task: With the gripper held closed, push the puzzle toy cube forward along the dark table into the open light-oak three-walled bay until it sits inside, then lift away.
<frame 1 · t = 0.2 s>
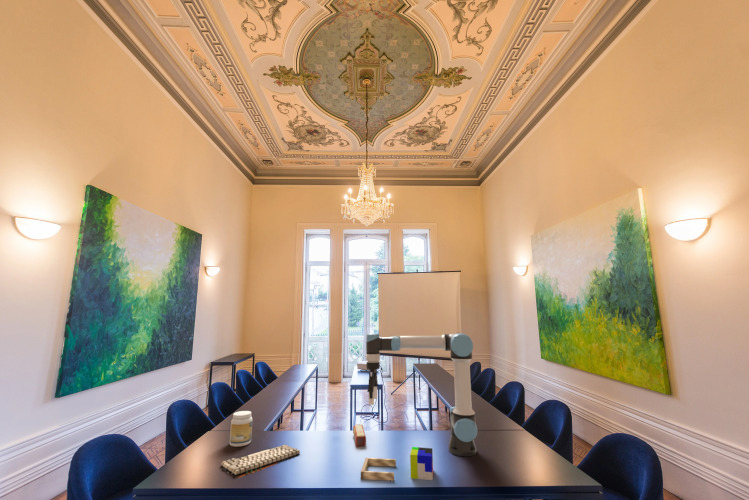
hand: (373, 401, 185), 28 cm above the table, fingers open, 13 cm apart
mechanical keyboard: (262, 462, 174), on the table
supplement tub: (240, 443, 199), on the table
oak bay: (380, 472, 161), on the table
puzzle toy: (422, 474, 159), on the table
snack package: (359, 441, 203), on the table
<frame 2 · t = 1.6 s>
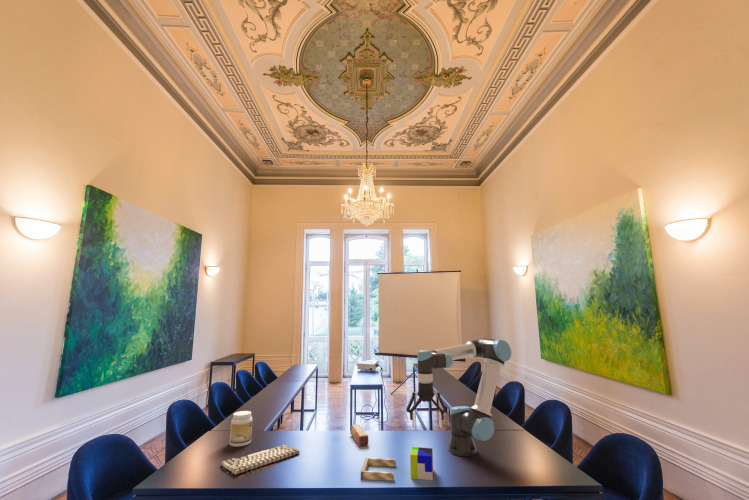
hand: (427, 427, 166), 20 cm above the table, fingers open, 13 cm apart
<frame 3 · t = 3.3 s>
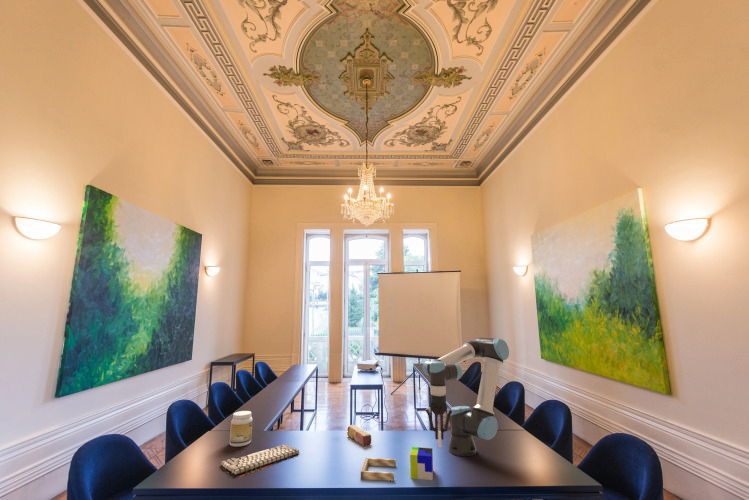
hand: (439, 446, 160), 12 cm above the table, fingers closed
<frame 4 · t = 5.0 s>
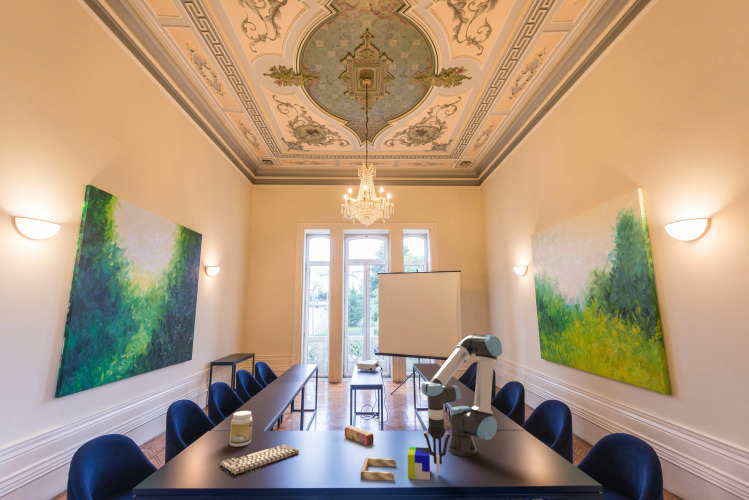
hand: (438, 471, 159), 2 cm above the table, fingers closed
puzzle toy: (419, 474, 159), on the table, touching hand
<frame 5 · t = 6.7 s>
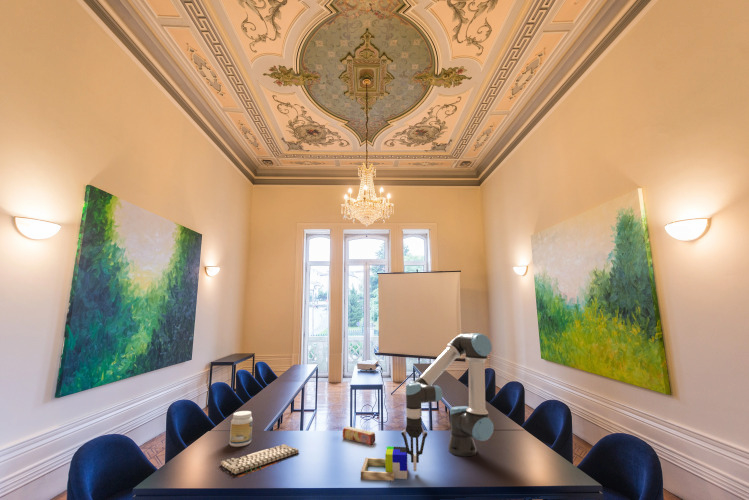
hand: (415, 469, 160), 2 cm above the table, fingers closed
puzzle toy: (396, 474, 160), on the table, touching hand
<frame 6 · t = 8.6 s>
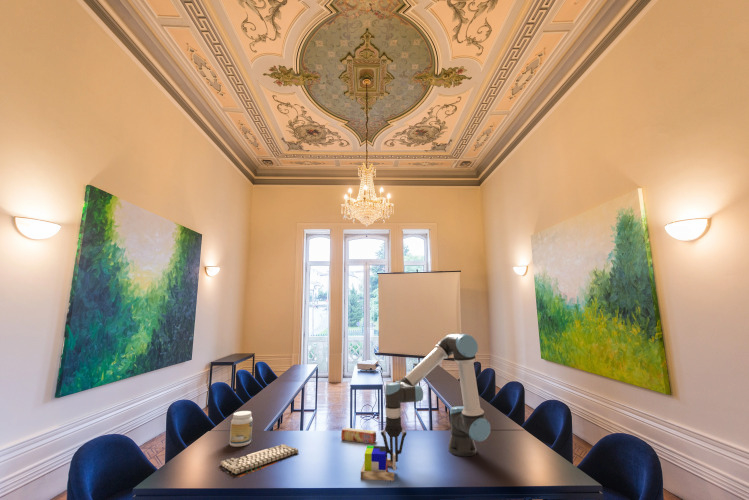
hand: (394, 469, 161), 2 cm above the table, fingers closed
puzzle toy: (376, 473, 161), resting in oak bay, touching hand
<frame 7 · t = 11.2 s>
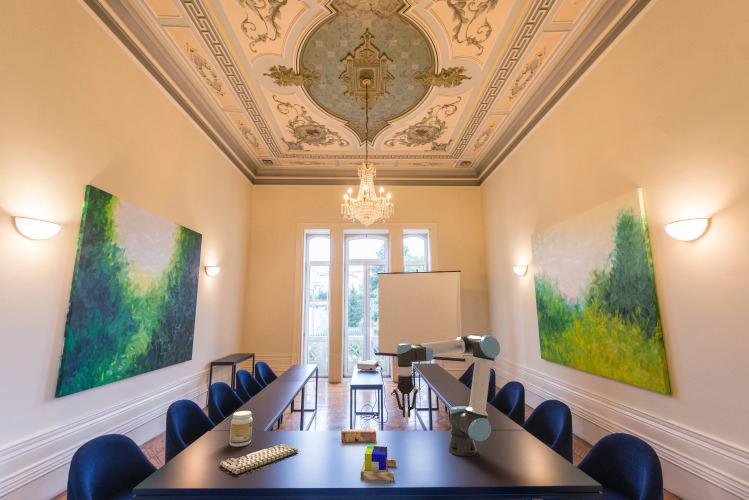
hand: (406, 424, 167), 21 cm above the table, fingers closed
puzzle toy: (376, 473, 161), resting in oak bay
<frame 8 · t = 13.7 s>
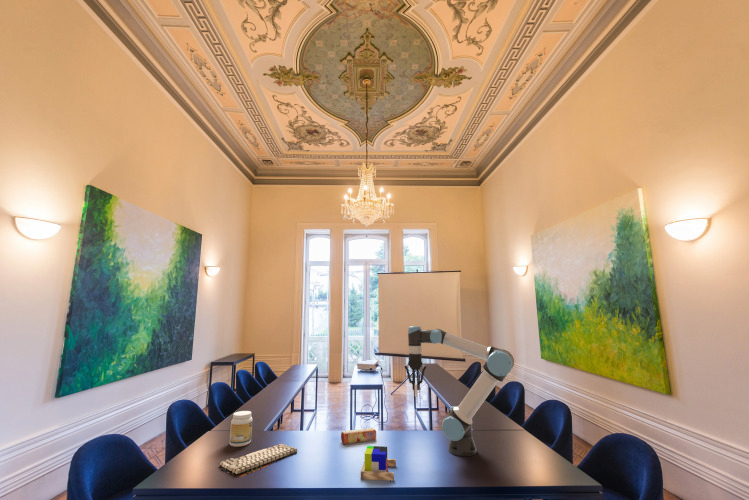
hand: (416, 396, 191), 29 cm above the table, fingers closed
at the end: puzzle toy inside the target area (1.7 cm from its centre), resting in oak bay; the gripper is holding nothing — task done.
